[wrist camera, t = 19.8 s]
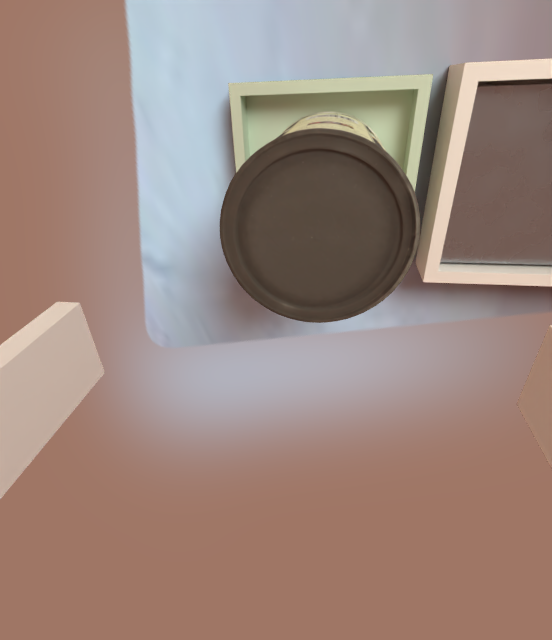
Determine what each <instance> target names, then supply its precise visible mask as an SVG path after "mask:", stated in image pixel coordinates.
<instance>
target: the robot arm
mask: <svg viewBox="0 0 552 640" xmlns="http://www.w3.org/2000/svg"><path fill="white" fill-rule="evenodd" d="M104 373H105V372H104V369H103V366H102V363H101V361H100V358H99V355H98V352H97V350H96V347H95V344H94V341H93V338H92V336H91V333H90V330H89V327H88V324H87V322H86V319H85V316H84V313H83V310H82V308H81V305H80V303H70V302H56V303H55V304H54V305H52V306H51V307H50V308H49V309H47V310H46V311H45V312H43V313H42V314H41V315H39V316H38V317H37V318H36V319H34V320H33V321H31V322H30V323H29V324H27V325H26V326H25V327H24V328H22V329H21V330H20V331H18V332H17V333H16V334H14V335H13V336H12V337H10V338H9V339H8V340H7V341H5V342H4V343H3V344H1V345H0V498H2V496H3V495H4V494H5V493H6V491H7V490H8V489H9V488H10V487H11V486H12V484H13V483H14V482H15V481H16V479H17V478H18V477H19V476H20V474H21V473H22V472H23V471H24V470H25V469H26V467H27V466H28V465H29V464H30V463H31V461H32V460H33V459H34V458H35V457H36V455H37V454H38V453H39V452H40V450H41V449H42V448H43V447H44V445H45V444H46V443H47V442H48V441H49V440H50V438H51V437H52V436H53V435H54V434H55V432H56V431H57V430H58V429H59V427H60V426H61V425H62V424H63V423H64V421H65V420H66V419H67V418H68V416H69V415H70V414H71V413H72V412H73V410H74V409H75V408H76V407H77V406H78V405H79V403H80V402H81V401H82V399H83V398H84V397H85V396H86V395H87V394H88V392H89V391H90V390H91V389H92V388H93V386H94V385H95V384H96V383H97V381H98V380H99V379H100V378H101V377H102V375H103V374H104ZM517 406H518V408H519V409H520V411H521V413H522V415H523V417H524V419H525V420H526V422H527V424H528V426H529V428H530V429H531V432H532V433H533V435H534V437H535V439H536V441H537V443H538V444H539V446H540V448H541V450H542V451H543V454H544V455H545V457H546V459H547V461H548V463H549V465H550V467H551V468H552V325H549V328H548V330H547V333H546V335H545V337H544V340H543V342H542V345H541V347H540V349H539V352H538V354H537V356H536V359H535V362H534V364H533V366H532V368H531V371H530V373H529V376H528V378H527V380H526V383H525V385H524V388H523V390H522V392H521V395H520V397H519V399H518V402H517Z"/></svg>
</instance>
